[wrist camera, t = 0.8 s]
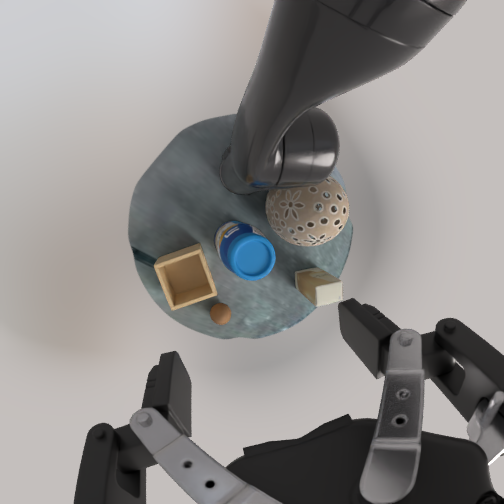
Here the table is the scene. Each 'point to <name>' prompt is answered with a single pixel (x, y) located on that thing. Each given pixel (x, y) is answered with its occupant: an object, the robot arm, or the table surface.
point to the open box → (185, 276)
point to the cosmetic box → (319, 286)
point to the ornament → (308, 212)
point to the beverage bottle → (244, 250)
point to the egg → (220, 313)
